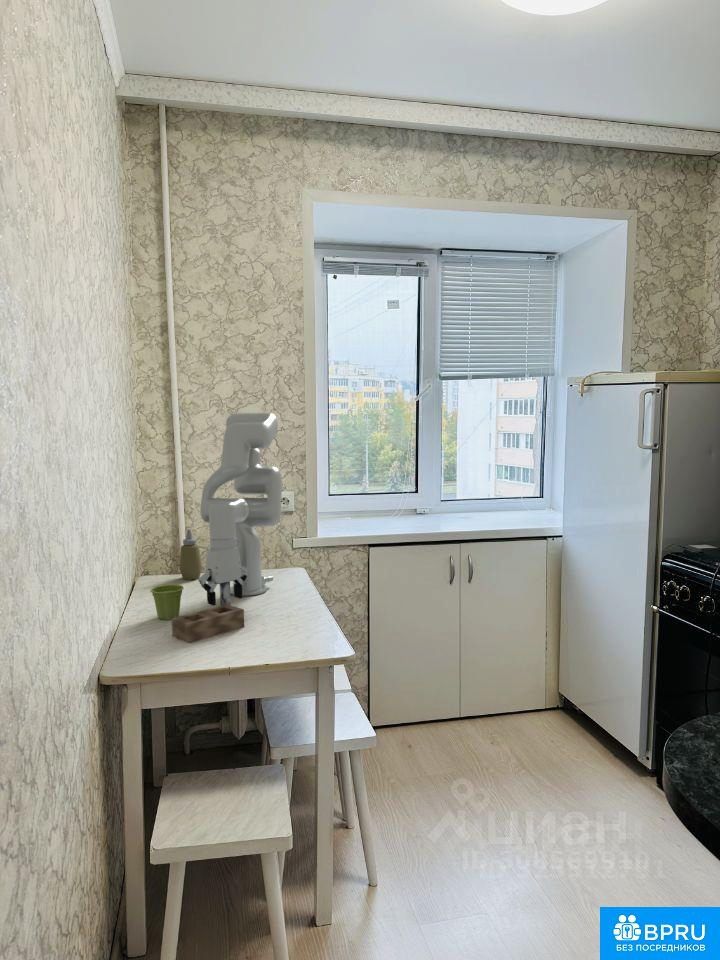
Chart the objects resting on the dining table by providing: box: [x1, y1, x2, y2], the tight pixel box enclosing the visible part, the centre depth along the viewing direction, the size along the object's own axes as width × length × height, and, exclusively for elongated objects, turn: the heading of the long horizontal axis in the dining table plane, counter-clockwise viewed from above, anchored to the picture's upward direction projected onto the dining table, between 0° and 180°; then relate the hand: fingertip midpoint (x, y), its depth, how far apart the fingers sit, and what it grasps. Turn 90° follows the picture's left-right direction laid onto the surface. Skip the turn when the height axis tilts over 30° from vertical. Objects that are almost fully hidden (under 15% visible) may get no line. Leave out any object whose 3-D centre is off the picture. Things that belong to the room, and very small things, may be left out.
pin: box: [219, 581, 232, 606], centre depth 204 cm, size 3×3×10 cm
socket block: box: [171, 604, 245, 644], centre depth 189 cm, size 18×8×5 cm, turn 137°
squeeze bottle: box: [179, 529, 203, 581], centre depth 250 cm, size 8×8×18 cm
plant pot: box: [150, 584, 184, 621], centre depth 203 cm, size 9×9×9 cm
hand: (225, 600), depth 204 cm, fingers open, 9 cm apart
